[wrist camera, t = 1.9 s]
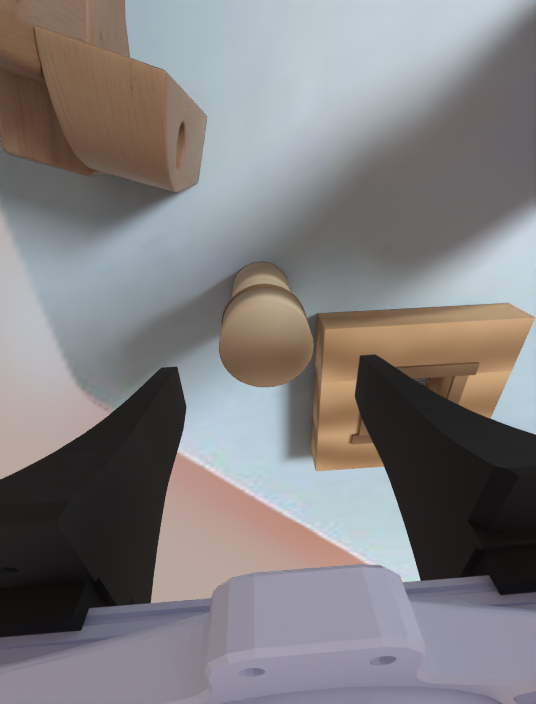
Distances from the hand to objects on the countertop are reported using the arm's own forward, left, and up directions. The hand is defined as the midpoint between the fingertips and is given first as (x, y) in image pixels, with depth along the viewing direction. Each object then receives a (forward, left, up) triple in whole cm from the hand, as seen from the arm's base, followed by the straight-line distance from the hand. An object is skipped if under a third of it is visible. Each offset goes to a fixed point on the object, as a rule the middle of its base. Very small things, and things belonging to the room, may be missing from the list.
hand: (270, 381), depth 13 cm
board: (+9, +11, -10) cm, 18 cm away
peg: (0, 0, -10) cm, 11 cm away
